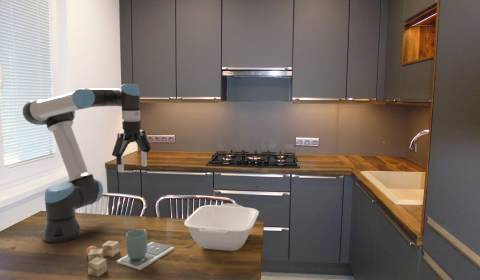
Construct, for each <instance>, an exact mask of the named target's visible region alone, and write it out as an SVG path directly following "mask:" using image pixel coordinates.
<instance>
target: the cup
mask: <svg viewBox="0 0 480 280" xmlns="http://www.w3.org/2000/svg"><path fill="white" fill-rule="evenodd" d="M147 244H148V232H147V230H146V229H142V228H140V229H139V228H137V229H131V230H128V231H127V232H126V233H125V248H126V255H128V257H129V258H130V259H133V260H139V259H142V258H143V257H144V256H145V255H146V252H147Z"/></svg>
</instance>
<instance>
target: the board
mask: <svg viewBox="0 0 480 280" xmlns="http://www.w3.org/2000/svg"><path fill="white" fill-rule="evenodd" d="M174 250H175V247H174V246H170V245H168V244H167V245H166V244H163V243H159V242H156V241H151V242H149V243H147V252H146V255H145V256H144V257H143V258H142V259H139V260H133V259H130V258H129V257H128V254H126V255H124V256H123V257H121V258H119V259H117V260H116V263H117V264H119V265H123V266H125V267H128V268H132V269H135V270H138V271H141V270H143V269H144V268H146V267H148V266H149V265H151V264H153V263H154V262H156V261H158V260H159V259H161V258H163V257H164V256H165V255H167V254H169V253H170V252H172V251H174Z"/></svg>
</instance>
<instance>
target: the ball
mask: <svg viewBox="0 0 480 280" xmlns="http://www.w3.org/2000/svg"><path fill="white" fill-rule="evenodd" d="M91 249H98V248H97V247H96V246H95V245H90V246H89V247H87V248H86V255H87V256H88V254H89V252H90V250H91Z"/></svg>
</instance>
